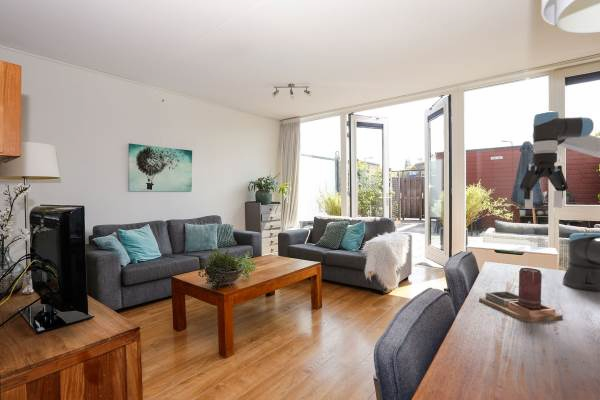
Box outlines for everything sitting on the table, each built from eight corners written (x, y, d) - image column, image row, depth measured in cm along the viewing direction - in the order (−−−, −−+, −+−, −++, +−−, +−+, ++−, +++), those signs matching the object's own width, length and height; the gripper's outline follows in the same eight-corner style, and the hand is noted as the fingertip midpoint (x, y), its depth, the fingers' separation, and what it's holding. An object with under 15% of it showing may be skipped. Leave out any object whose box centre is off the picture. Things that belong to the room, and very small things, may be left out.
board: (510, 298, 124) (510, 290, 124) (562, 319, 104) (562, 309, 104) (479, 300, 121) (479, 292, 121) (526, 322, 101) (526, 312, 101)
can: (523, 313, 106) (525, 271, 105) (515, 306, 112) (516, 266, 111) (544, 315, 104) (546, 272, 104) (534, 307, 111) (535, 267, 110)
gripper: (561, 154, 131) (559, 206, 131) (509, 153, 126) (508, 207, 126) (581, 152, 123) (579, 207, 124) (526, 151, 118) (524, 208, 119)
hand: (543, 207), depth 125 cm, fingers open, 13 cm apart
